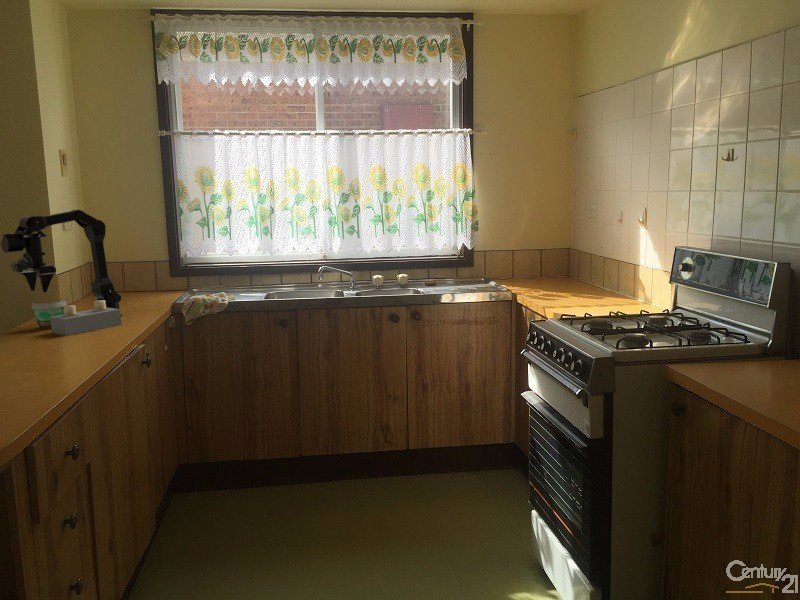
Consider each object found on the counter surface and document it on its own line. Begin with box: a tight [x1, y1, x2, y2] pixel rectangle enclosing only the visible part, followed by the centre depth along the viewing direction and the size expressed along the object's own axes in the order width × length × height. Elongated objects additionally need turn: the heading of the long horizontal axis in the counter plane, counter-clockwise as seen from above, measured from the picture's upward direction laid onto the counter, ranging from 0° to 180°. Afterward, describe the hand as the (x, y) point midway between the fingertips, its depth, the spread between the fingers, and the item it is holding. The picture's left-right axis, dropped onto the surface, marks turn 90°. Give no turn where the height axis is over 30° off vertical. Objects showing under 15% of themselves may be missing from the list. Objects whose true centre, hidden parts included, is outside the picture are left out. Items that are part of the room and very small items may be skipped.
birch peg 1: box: [63, 304, 77, 317], centre depth 263 cm, size 4×4×6 cm
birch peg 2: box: [93, 300, 106, 312], centre depth 273 cm, size 4×4×6 cm
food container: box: [31, 299, 68, 330], centre depth 272 cm, size 12×6×10 cm, turn 105°
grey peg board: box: [50, 307, 122, 337], centre depth 268 cm, size 22×10×6 cm, turn 143°
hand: (38, 291), depth 268 cm, fingers open, 9 cm apart
